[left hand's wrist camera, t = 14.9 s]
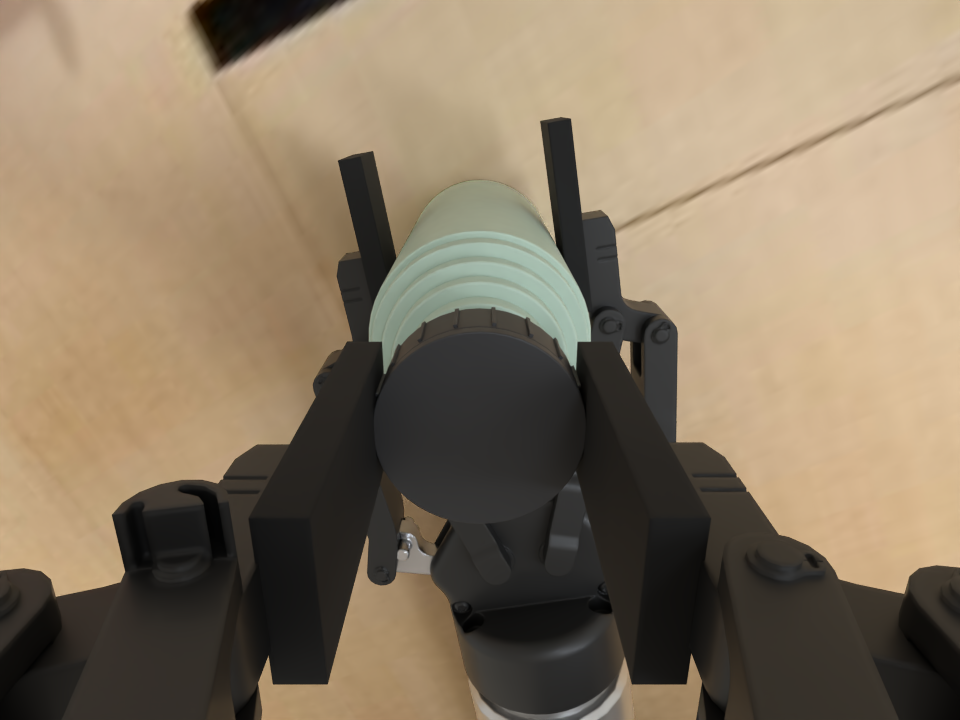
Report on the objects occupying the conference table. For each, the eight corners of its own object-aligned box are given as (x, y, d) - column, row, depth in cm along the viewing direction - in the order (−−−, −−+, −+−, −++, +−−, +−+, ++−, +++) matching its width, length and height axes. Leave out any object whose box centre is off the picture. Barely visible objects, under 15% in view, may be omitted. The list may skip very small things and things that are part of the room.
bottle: (406, 305, 31) (322, 533, 14) (419, 170, 29) (337, 258, 12) (536, 321, 31) (598, 563, 15) (558, 189, 29) (660, 299, 13)
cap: (374, 475, 15) (362, 514, 14) (389, 292, 14) (378, 315, 12) (559, 496, 15) (568, 537, 14) (595, 318, 14) (609, 343, 12)
